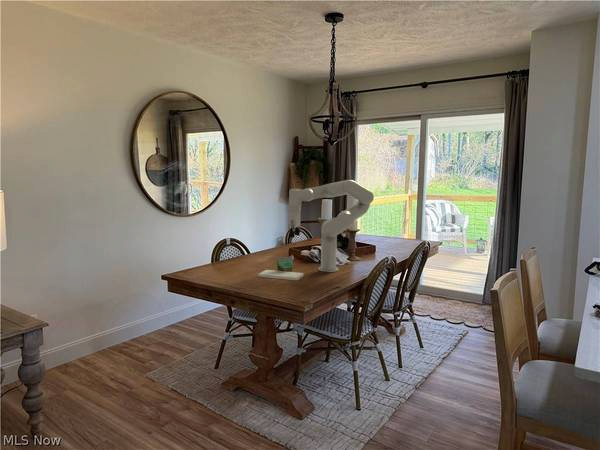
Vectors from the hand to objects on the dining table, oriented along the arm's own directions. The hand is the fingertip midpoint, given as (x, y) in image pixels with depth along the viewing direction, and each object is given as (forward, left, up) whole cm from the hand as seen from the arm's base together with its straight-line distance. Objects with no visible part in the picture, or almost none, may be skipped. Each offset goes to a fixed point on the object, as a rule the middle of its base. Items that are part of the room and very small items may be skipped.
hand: (294, 236), depth 254 cm
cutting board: (+19, -1, -21) cm, 28 cm away
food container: (+9, -1, -21) cm, 23 cm away
